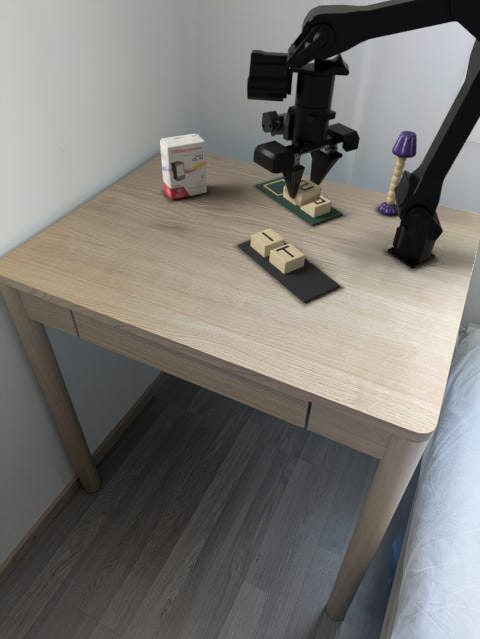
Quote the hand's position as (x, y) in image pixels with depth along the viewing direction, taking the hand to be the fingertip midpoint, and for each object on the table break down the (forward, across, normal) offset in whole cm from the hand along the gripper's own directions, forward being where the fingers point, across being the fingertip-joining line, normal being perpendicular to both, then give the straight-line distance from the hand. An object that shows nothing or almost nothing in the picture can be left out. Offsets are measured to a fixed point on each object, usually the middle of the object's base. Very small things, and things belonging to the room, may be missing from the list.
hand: (302, 193), depth 87 cm
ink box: (+11, +7, -30) cm, 33 cm away
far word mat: (+11, -12, -14) cm, 21 cm away
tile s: (+1, 0, 0) cm, 1 cm away
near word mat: (+11, +6, +4) cm, 13 cm away
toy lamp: (+11, -25, +1) cm, 28 cm away
